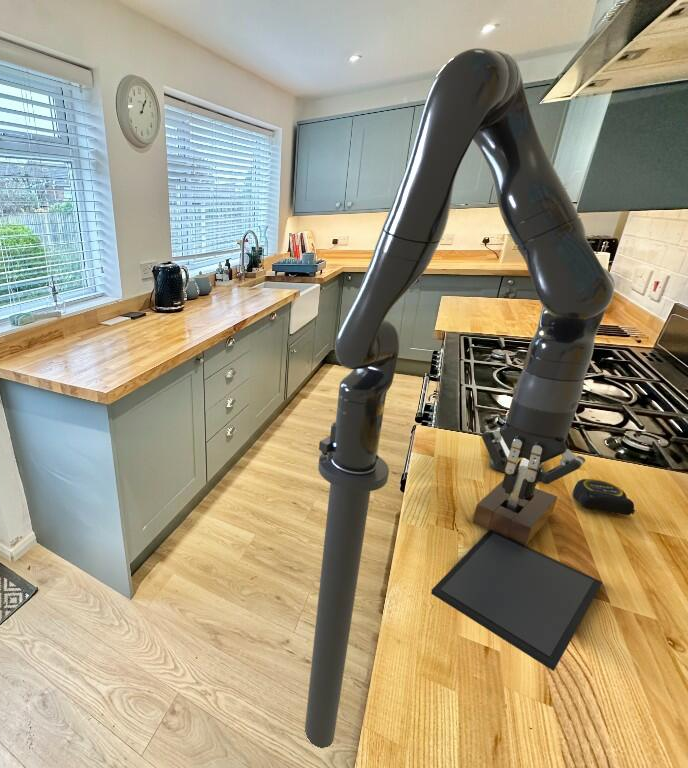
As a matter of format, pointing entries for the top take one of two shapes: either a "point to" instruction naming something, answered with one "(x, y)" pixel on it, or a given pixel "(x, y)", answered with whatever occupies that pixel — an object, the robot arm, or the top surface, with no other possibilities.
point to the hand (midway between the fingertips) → (515, 493)
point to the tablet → (519, 595)
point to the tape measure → (602, 497)
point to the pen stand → (514, 514)
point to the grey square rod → (517, 489)
